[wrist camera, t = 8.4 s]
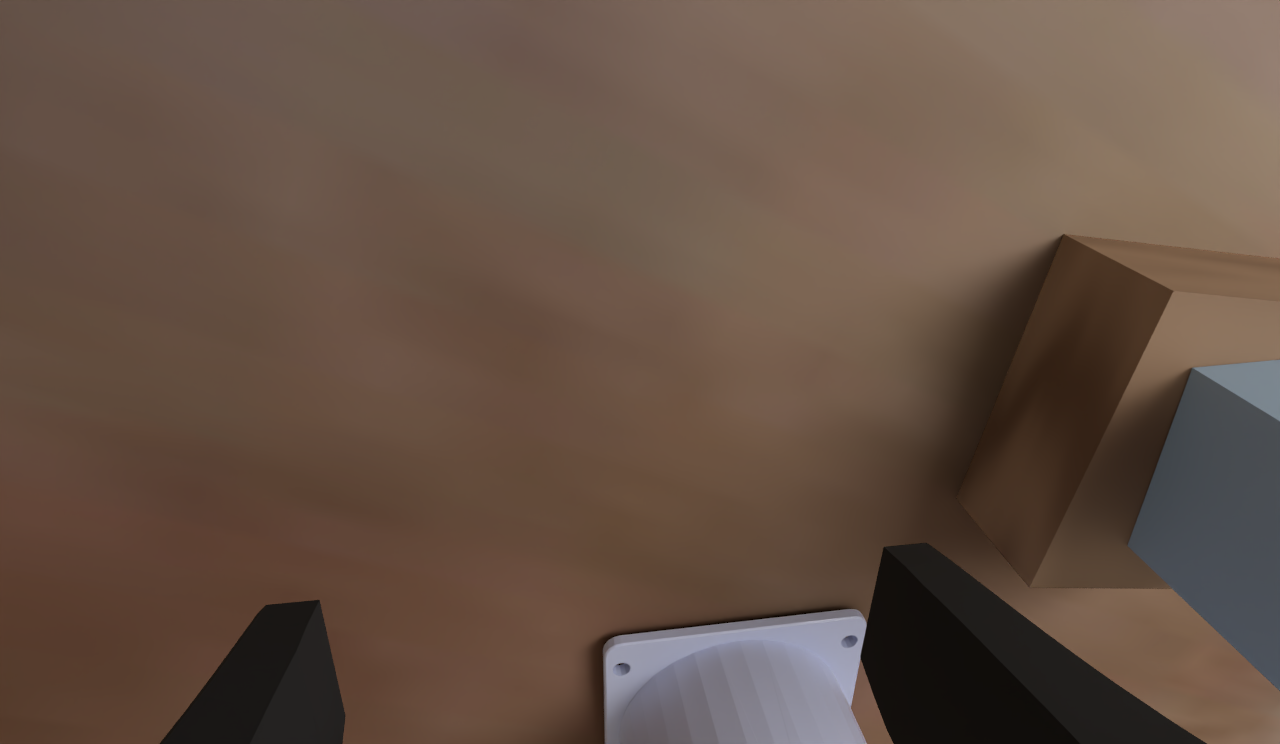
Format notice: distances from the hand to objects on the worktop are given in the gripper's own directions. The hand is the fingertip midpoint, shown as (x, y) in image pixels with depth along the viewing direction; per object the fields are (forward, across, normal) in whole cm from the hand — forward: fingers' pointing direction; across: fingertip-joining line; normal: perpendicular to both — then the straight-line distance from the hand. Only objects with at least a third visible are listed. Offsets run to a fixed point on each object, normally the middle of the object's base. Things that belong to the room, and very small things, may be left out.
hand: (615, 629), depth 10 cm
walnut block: (+10, -16, +3) cm, 19 cm away
